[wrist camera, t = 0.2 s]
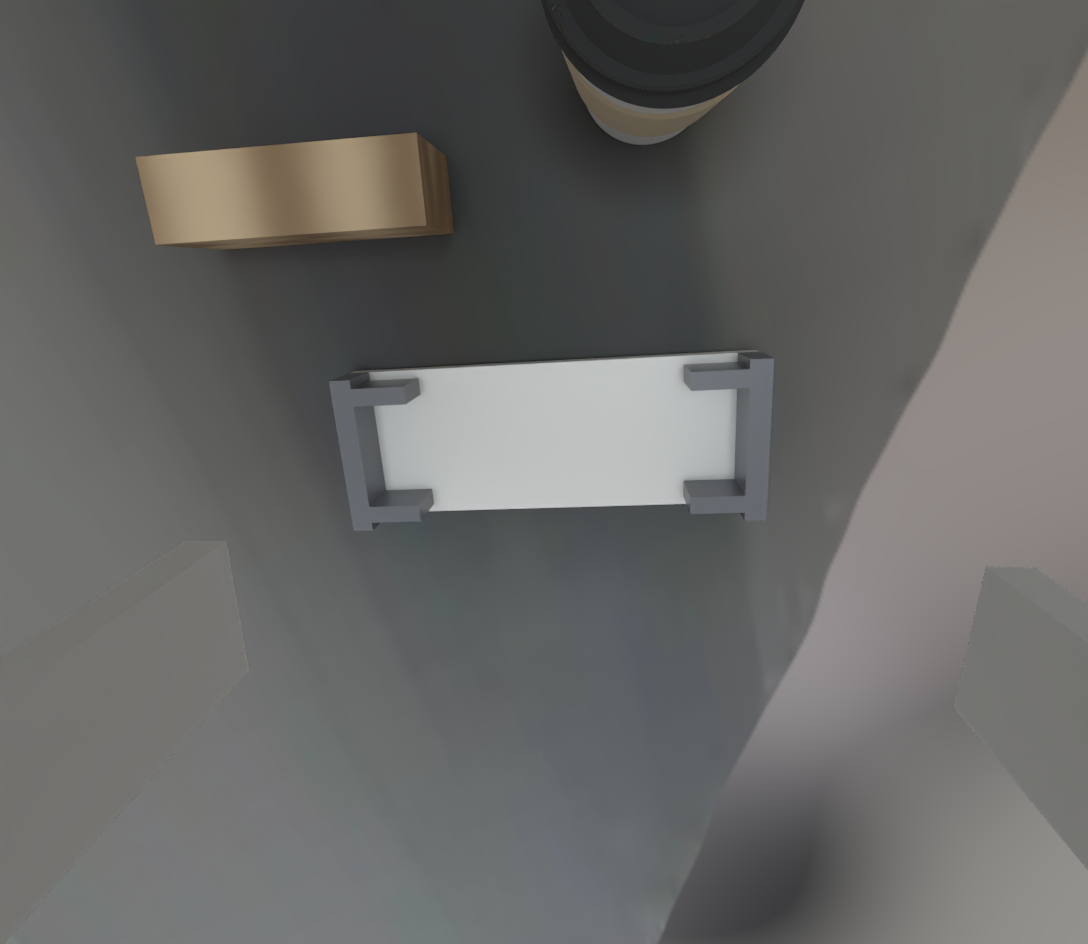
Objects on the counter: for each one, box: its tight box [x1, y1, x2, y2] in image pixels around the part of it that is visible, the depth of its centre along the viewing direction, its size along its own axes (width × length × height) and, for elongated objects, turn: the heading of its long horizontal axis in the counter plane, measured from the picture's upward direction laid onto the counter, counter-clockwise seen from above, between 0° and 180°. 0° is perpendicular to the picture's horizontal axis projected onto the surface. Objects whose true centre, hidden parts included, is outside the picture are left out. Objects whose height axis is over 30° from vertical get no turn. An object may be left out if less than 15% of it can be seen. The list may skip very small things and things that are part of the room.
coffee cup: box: [541, 0, 804, 145], centre depth 25 cm, size 9×9×15 cm
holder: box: [329, 350, 774, 531], centre depth 36 cm, size 9×24×4 cm, turn 94°
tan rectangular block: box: [135, 133, 454, 250], centre depth 33 cm, size 14×4×6 cm, turn 93°
